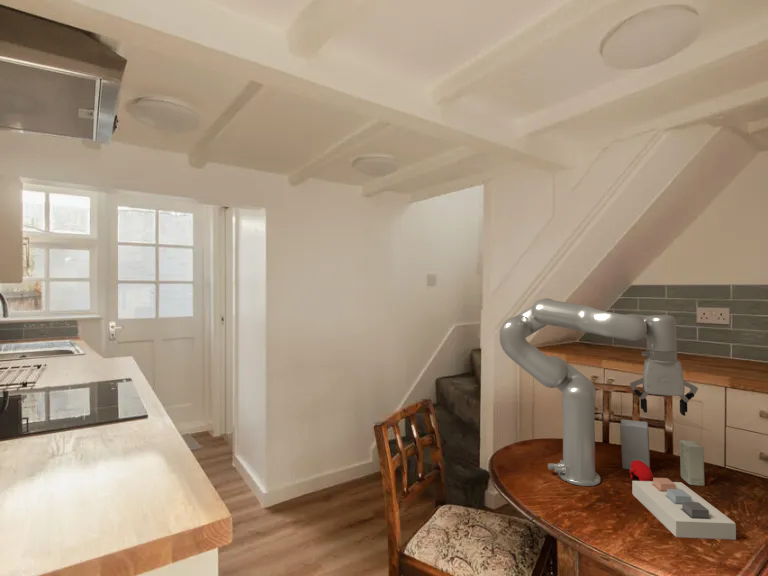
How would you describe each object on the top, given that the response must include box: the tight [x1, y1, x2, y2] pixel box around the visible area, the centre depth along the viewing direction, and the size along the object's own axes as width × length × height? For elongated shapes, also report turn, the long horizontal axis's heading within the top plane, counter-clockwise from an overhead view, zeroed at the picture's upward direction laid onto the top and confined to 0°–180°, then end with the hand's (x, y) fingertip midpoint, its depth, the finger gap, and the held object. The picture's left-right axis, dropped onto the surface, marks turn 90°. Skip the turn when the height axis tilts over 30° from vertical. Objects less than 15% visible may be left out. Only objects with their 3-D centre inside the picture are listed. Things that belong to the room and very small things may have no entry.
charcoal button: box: [682, 502, 709, 519], centre depth 109 cm, size 4×4×3 cm
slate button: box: [667, 489, 691, 504], centre depth 116 cm, size 4×4×3 cm
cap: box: [628, 460, 655, 481], centre depth 136 cm, size 8×6×6 cm
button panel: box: [631, 480, 737, 541], centre depth 116 cm, size 14×22×4 cm, turn 175°
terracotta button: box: [652, 477, 676, 492], centre depth 123 cm, size 4×4×3 cm
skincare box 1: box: [620, 418, 651, 471], centre depth 146 cm, size 8×7×16 cm
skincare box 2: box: [679, 439, 705, 487], centre depth 136 cm, size 6×4×12 cm
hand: (663, 412), depth 127 cm, fingers open, 9 cm apart
